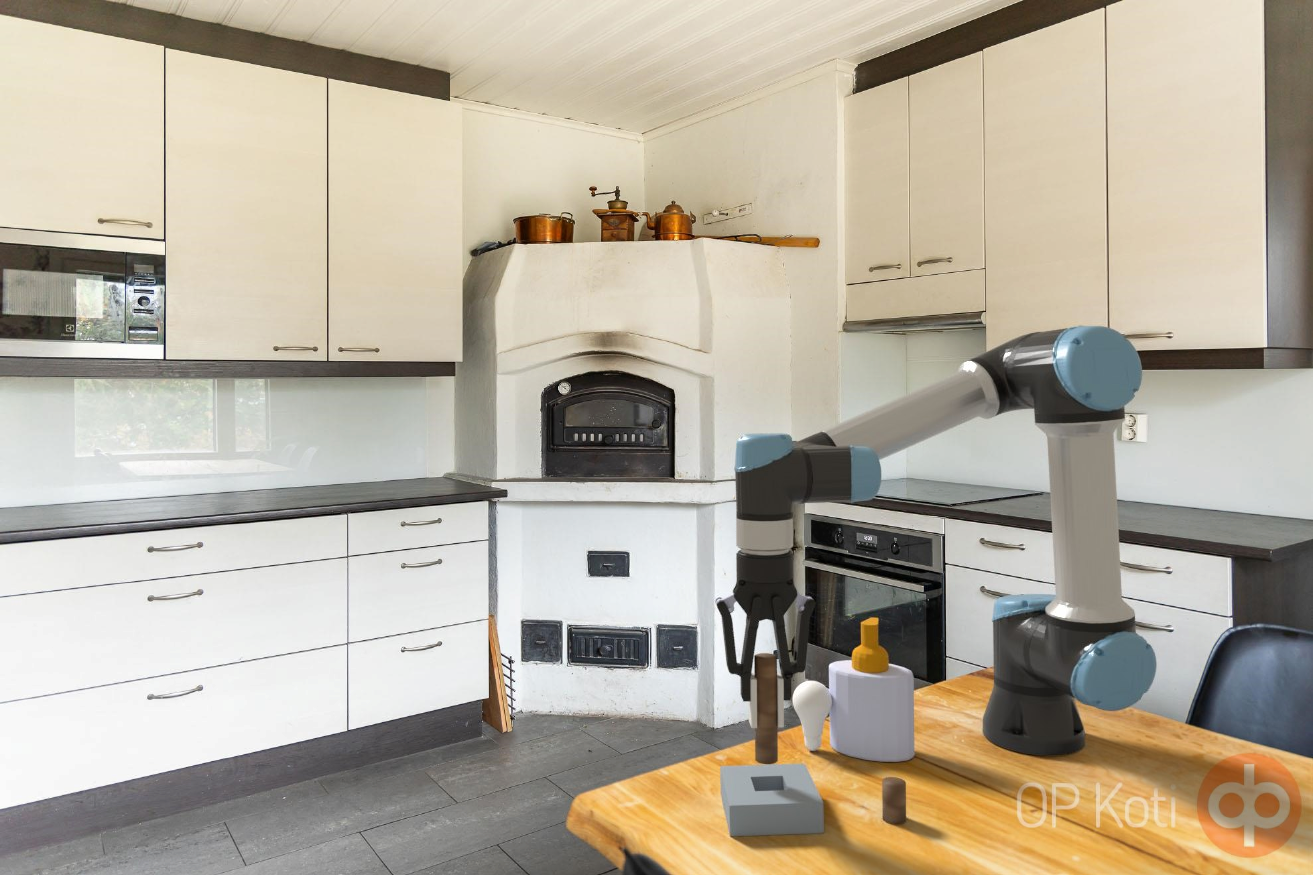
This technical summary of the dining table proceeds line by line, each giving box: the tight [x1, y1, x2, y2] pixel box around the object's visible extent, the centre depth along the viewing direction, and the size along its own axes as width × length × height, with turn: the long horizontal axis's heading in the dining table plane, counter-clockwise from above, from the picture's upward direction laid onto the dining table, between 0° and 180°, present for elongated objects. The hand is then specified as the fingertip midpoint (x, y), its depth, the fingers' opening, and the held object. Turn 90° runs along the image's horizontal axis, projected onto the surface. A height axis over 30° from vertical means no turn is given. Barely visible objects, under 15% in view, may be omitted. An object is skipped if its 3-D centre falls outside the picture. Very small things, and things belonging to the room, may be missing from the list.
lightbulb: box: [792, 680, 832, 752], centre depth 137 cm, size 6×6×11 cm
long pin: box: [753, 652, 779, 765], centre depth 116 cm, size 3×3×14 cm
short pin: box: [881, 776, 907, 826], centre depth 114 cm, size 3×3×5 cm
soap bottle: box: [828, 617, 915, 763], centre depth 136 cm, size 13×8×20 cm, turn 63°
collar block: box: [719, 762, 825, 837], centre depth 117 cm, size 12×12×4 cm
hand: (766, 723), depth 116 cm, fingers closed on long pin, 3 cm apart
